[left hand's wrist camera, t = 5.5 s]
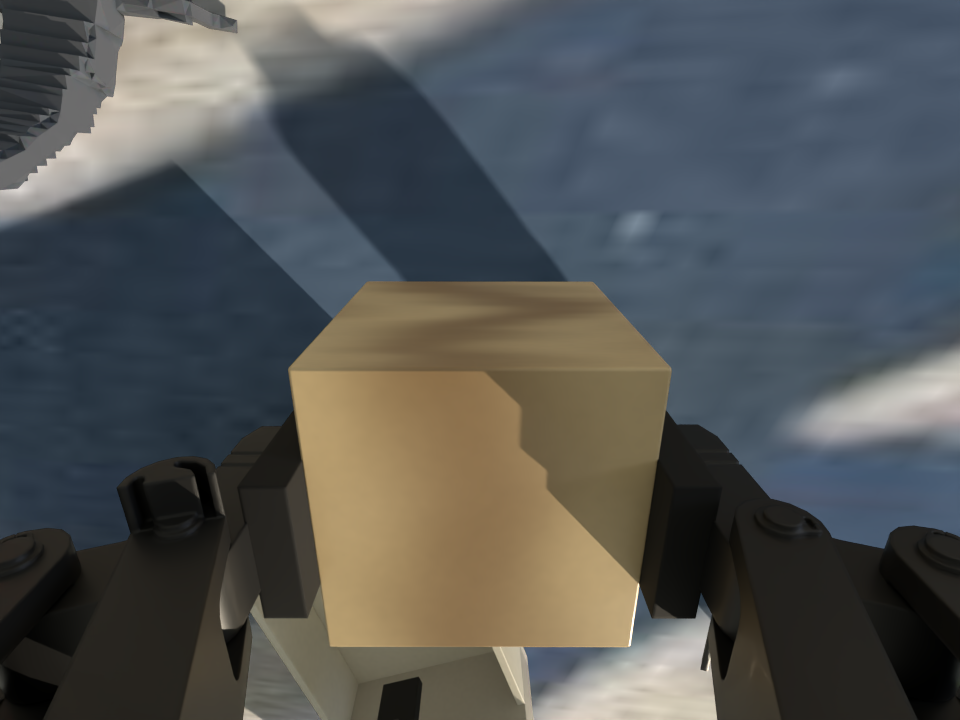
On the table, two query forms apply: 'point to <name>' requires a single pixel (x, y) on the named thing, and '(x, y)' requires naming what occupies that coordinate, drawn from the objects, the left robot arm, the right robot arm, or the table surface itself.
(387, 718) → the right robot arm
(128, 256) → the table surface
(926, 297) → the table surface
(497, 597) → the block
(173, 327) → the table surface
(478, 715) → the box
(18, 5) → the toy
